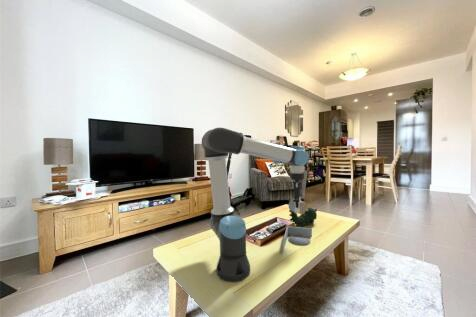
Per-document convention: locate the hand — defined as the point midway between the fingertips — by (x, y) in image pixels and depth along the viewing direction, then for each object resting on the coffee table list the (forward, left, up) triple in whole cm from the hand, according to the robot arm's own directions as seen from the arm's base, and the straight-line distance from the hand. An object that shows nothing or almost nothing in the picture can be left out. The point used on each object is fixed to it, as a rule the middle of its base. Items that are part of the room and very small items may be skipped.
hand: (297, 210), depth 119 cm
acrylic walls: (-4, 0, -18) cm, 19 cm away
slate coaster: (+1, -1, -18) cm, 18 cm away
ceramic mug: (+1, -1, -2) cm, 2 cm away
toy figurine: (+28, -3, -19) cm, 34 cm away
